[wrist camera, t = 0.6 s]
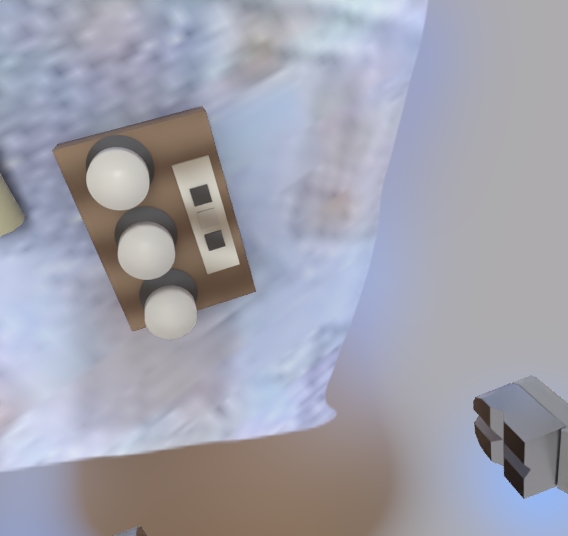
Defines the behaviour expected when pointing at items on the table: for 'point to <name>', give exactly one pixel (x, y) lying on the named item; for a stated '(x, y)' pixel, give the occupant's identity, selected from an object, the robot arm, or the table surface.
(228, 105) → the table surface
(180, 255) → the button board
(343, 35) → the table surface
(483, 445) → the robot arm
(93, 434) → the table surface
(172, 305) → the outer button
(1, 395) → the table surface
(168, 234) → the middle button
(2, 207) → the flower vase
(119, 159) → the inner button
